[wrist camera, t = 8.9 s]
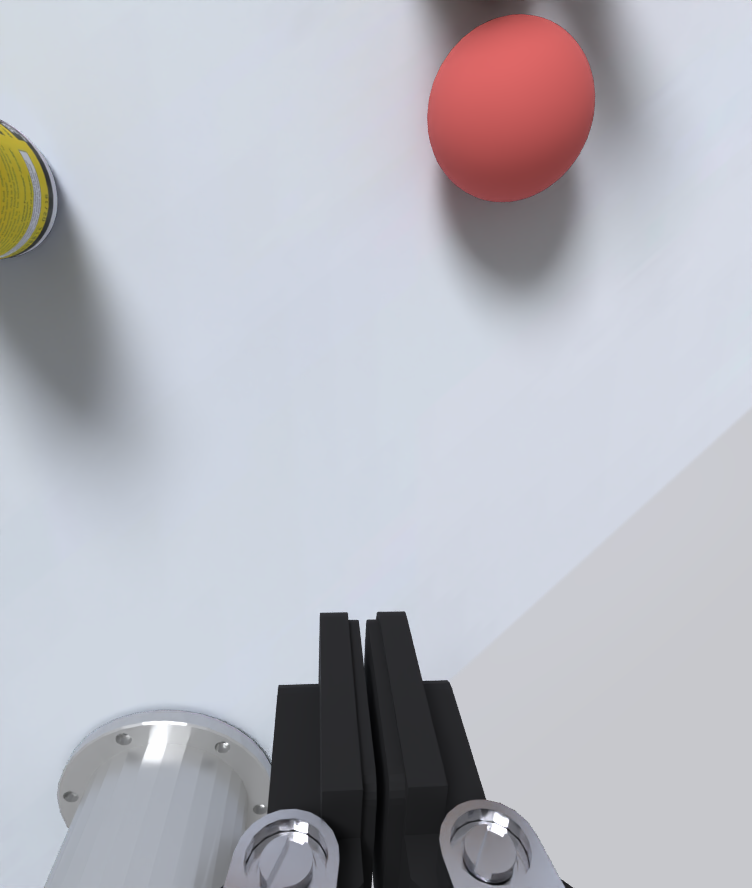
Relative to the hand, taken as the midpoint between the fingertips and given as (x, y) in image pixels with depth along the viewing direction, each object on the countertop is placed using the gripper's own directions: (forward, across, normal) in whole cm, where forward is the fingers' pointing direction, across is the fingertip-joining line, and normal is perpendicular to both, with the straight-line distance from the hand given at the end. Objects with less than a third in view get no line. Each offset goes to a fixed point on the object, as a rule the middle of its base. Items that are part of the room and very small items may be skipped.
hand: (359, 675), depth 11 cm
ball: (+14, -6, -13) cm, 20 cm away
